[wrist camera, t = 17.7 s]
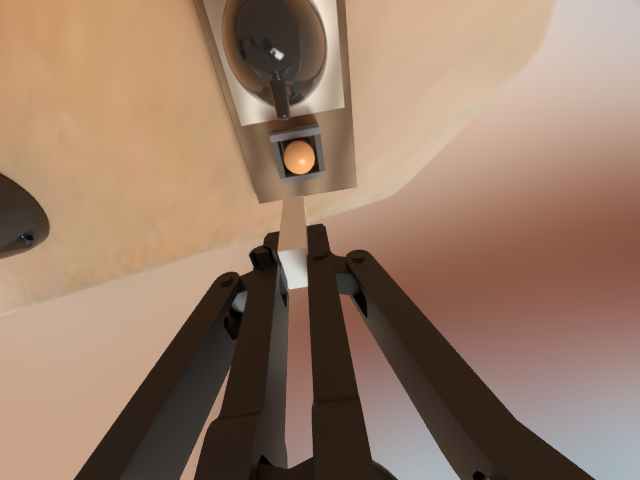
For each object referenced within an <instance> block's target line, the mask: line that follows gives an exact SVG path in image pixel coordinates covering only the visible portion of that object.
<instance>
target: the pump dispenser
mask: <svg viewBox="0 0 640 480" xmlns="http://www.w3.org/2000/svg"><path fill="white" fill-rule="evenodd" d="M221 33H222V43H223V48H224V52H225V56H226V59H227V62H228V64H229V67H230V69H231V71H232V73H233V75H234V76H235V78H236V79H237V81H238V82H239V84H240V85H241V86H242V87H243V88H244V90H245V91H246V92H247V93H249V94H250V95H251V96H252V97H253V98H255V99H256V100H258V101H260V102H261V103H263V104H266V105H268V106H272V107H275V111H276V115H277V118H278V119H279V120H287V119H289V118H290V108H289V107H292V106H295V105H298V104H300V103H302V102H303V101H305V100H306V99H307V98H309V97H310V96H311V95H312V94H313V92H314V91H315V90H316V89H317V87H318V85H319V84H320V82H321V80H322V77H323V75H324V72H325V68H326V64H327V56H328V42H327V35H326V30H325V26H324V22H323V19H322V17H321V14H320V12H319V10H318V8H317V6H316V4H315V2H314V0H226V3H225V6H224V10H223V15H222V24H221Z"/></svg>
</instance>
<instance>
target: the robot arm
mask: <svg viewBox="0 0 640 480" xmlns="http://www.w3.org/2000/svg"><path fill="white" fill-rule="evenodd" d="M48 234H49V222H48V219H47V217H46V215H45V213H44V211H43V210H42V208H41V207H40V205H39V204H38V203H37V202H36V201H35V200H34V199H33V198H32V197H31V196H30V195H29V194H28V193H27V192H26V191H25V190H23V189H22V188H21V187H19V186H18V185H17V184H15V183H14V182H12V181H11V180H9V179H7V178H5V177H4V176H2V175H0V259H3V258H7V257H10V256H14V255H17V254H21V253H24V252H26V251H29V250H31V249H32V248H34V247H36V246H37V245H39V244H40V243H42V242H43V241H44V240H45V239H46V238H47V236H48ZM249 257H250V259H251V261H252V264H253V266H254V268H253V271H251V272H249V273H247V274H244V275H242V276H239V275H238V273H236V272H227V273H225V274H222V275H221V276H219V277H218V278H217V279H216V280H215V281H214V283H213V284H212V285H211V287H210V288H209V290H208V291H207V293H206V294H205V295H204V297H203V298H202V300H201V301H200V303H199V304H198V305H197V306H196V308H195V309H194V311H193V312H192V314H191V315H190V316H189V318H188V319H187V321H186V322H185V323H184V325H183V326H182V328H181V329H180V331H179V332H178V333H177V335H176V336H175V338H174V339H173V341H172V342H171V343H170V345H169V346H168V347H167V349H166V350H165V352H164V353H163V354H162V356H161V357H160V359H159V360H158V361H157V363H156V364H155V366H154V367H153V369H152V370H151V371H150V373H149V374H148V376H147V377H146V379H145V380H144V381H143V383H142V384H141V386H140V387H139V388H138V390H137V391H136V393H135V394H134V395H133V397H132V398H131V400H130V401H129V402H128V404H127V405H126V407H125V408H124V409H123V411H122V412H121V414H120V415H119V417H118V418H117V420H116V421H115V422H114V424H113V425H112V427H111V428H110V429H109V431H108V432H107V434H106V435H105V436H104V438H103V439H102V441H101V442H100V443H99V445H98V446H97V448H96V449H95V450H94V452H93V453H92V455H91V456H90V457H89V459H88V460H87V462H86V463H85V464H84V466H83V467H82V469H81V470H80V472H79V473H78V474H77V476H76V477H75V479H74V480H179V479H180V477H181V475H182V473H183V471H184V468H185V466H186V464H187V462H188V459H189V457H190V455H191V453H192V450H193V448H194V446H195V444H196V442H197V439H198V437H199V435H200V433H201V431H202V428H203V426H204V424H205V422H206V420H207V417H208V415H209V413H210V410H211V409H212V406H213V404H214V402H215V400H216V397H217V395H218V393H219V391H220V388H221V386H222V384H223V382H224V380H225V377H226V375H227V373H228V371H229V369H230V373H229V378H228V382H227V386H226V391H225V395H224V400H223V404H222V408H221V411H220V414H219V416H218V418H217V419H215V420H214V421H213V422H211V424H210V425H209V427H208V429H207V432H206V435H205V438H204V442H203V446H202V449H201V454H200V457H199V461H198V465H197V469H196V473H195V477H194V480H397V478H396V477H395V476H393V475H392V474H391V473H390V472H389V471H388V470H387V469H386V468H384V467H383V466H382V465H380V464H379V463H377V462H375V461H373V460H372V457H371V452H370V447H369V442H368V437H367V432H366V427H365V422H364V417H363V412H362V407H361V402H360V398H359V394H358V389H357V384H356V379H355V374H354V369H353V364H352V358H351V353H350V348H349V343H348V338H347V333H346V328H345V323H344V317H343V312H342V307H341V302H340V297H339V294H345V295H350V298H351V299H352V301H353V303H354V305H355V306H356V308H357V310H358V311H359V313H360V315H361V316H362V318H363V320H364V321H365V323H366V325H367V326H368V328H369V330H370V332H371V333H372V335H373V337H374V338H375V340H376V342H377V343H378V345H379V347H380V348H381V350H382V351H383V353H384V355H385V357H386V358H387V360H388V362H389V364H390V365H391V367H392V368H393V370H394V372H395V374H396V375H397V377H398V379H399V380H400V382H401V384H402V385H403V387H404V389H405V390H406V392H407V394H408V396H409V397H410V399H411V400H412V402H413V404H414V406H415V407H416V409H417V411H418V412H419V414H420V416H421V417H422V419H423V421H424V422H425V424H426V426H427V428H428V429H429V431H430V433H431V434H432V436H433V438H434V439H435V441H436V443H437V444H438V446H439V448H440V450H441V451H442V453H443V454H444V455H445V457H446V459H447V460H448V462H449V463H450V465H451V466H452V468H453V469H454V471H455V472H456V474H457V475H458V476H459V478H460V479H461V480H595V479H594V478H592V477H591V476H590V475H589V474H587V473H586V472H585V471H583V470H582V469H581V468H579V467H578V466H577V465H576V464H574V463H573V462H572V461H570V460H569V459H568V458H566V457H565V456H564V455H562V454H561V453H560V452H558V451H557V450H556V449H554V448H553V447H552V446H550V445H549V444H548V443H546V442H545V441H544V440H542V439H541V438H540V437H538V436H537V435H536V434H535V433H533V432H532V431H531V430H529V429H528V428H527V427H525V426H524V425H522V424H521V423H520V422H519V421H517V420H516V419H515V417H514V416H513V415H512V414H511V413H510V412H509V411H508V409H507V408H506V407H505V406H504V405H503V404H502V403H501V402H500V400H499V399H498V398H497V397H496V396H495V395H494V394H493V392H492V391H491V390H490V389H489V388H488V387H487V386H486V384H484V382H483V381H482V380H481V379H480V378H479V377H478V375H476V373H475V372H474V371H473V370H472V369H471V367H470V366H469V365H468V364H467V363H466V362H465V361H464V359H462V357H461V356H460V355H459V354H458V353H457V352H456V350H455V349H454V348H453V347H452V346H451V345H450V344H449V342H448V341H447V340H446V339H445V338H444V337H443V336H442V334H441V333H440V332H439V331H438V330H437V329H436V328H435V327H434V325H433V324H432V323H431V322H430V321H429V320H428V319H427V317H426V316H425V315H424V314H423V313H422V312H421V311H420V310H419V308H418V307H417V306H416V305H415V304H414V303H413V302H412V300H411V299H410V298H409V297H408V296H407V295H406V294H405V293H404V291H403V290H402V289H401V288H400V287H399V286H398V285H397V283H396V282H395V281H394V280H393V279H392V278H391V277H390V275H389V274H388V273H387V272H386V271H385V270H384V269H383V268H382V266H381V265H380V264H379V263H378V262H377V261H376V260H375V259H374V257H373V256H372V255H371V254H370V253H369V252H367V251H365V250H354V251H351V252H349V253H348V254H347V255H346V257H341V256H336V255H334V254H333V253H332V252H331V251H330V247H329V242H328V237H327V232H326V227H325V226H324V225H323V224H317V225H309V220H308V215H307V211H306V206H305V201H304V196H303V195H302V196H296V197H291V198H285V199H283V207H282V216H281V225H280V231H278V232H272V233H268V234H267V236H266V237H265V238H264V244H263V245H262V246H259V247H257V248H255V249H253V250H252V251H251V252H250V254H249ZM287 284H288V287H289V289H294V288H300V287H306V286H308V296H309V316H310V336H311V353H312V354H311V355H312V375H313V396H314V400H313V405H312V437H313V457H312V458H310V459H308V460H306V461H304V462H302V463H300V464H298V465H296V466H294V467H292V468H290V469H287V451H286V445H285V408H286V406H285V405H286V377H287V345H288V344H287V343H288V312H289V294H288V291H287ZM230 366H231V368H230Z"/></svg>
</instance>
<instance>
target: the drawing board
mask: <svg viewBox="0 0 640 480" xmlns="http://www.w3.org/2000/svg"><path fill="white" fill-rule="evenodd" d="M193 1H194V4H195V7H196V10H197V13H198V16H199V19H200V22H201V25H202V28H203V31H204V34H205V38H206V41H207V44H208V47H209V50H210V53H211V56H212V59H213V62H214V65H215V68H216V71H217V75H218V78H219V81H220V84H221V87H222V90H223V93H224V96H225V99H226V102H227V105H228V108H229V112H230V115H231V118H232V121H233V124H234V127H235V130H236V133H237V136H238V139H239V142H240V145H241V149H242V152H243V155H244V158H245V161H246V164H247V167H248V170H249V173H250V176H251V179H252V182H253V186H254V189H255V192H256V195H257V198H258V201H259V204H261V203H267V202H272V201H278V200H283V199H285V198H291V197H296V196H302V195H303V196H308V195H314V194H319V193H325V192H331V191H337V190H343V189H349V188H355V187H357V182H356V166H355V151H354V135H353V119H352V103H351V88H350V72H349V56H348V40H347V24H346V9H345V0H314V2H315V4H316V6H317V8H318V10H319V12H320V14H321V17H322V19H323V22H324V26H325V30H326V35H327V42H328V56H327V64H326V68H325V72H324V75H323V77H322V80H321V82H320V84H319V85H318V87H317V89H316V90H315V91H314V92H313V94H312V95H311V96H310V97H309V98H307V99H306V100H305V101H303V102H302V103H300V104H298V105H295V106H292V107H289V108H290V118H289V119H287V120H279V119H278V118H277V115H276V111H275V107H272V106H268V105H266V104H263V103H261V102H260V101H258V100H256V99H255V98H253V97H252V96H251V95H250V94H249V93H247V92H246V91H245V90H244V88H243V87H242V86H241V85H240V84H239V82H238V81H237V79H236V78H235V76H234V75H233V73H232V71H231V69H230V67H229V64H228V62H227V59H226V56H225V52H224V48H223V43H222V33H221V24H222V15H223V10H224V6H225V3H226V0H193ZM295 138H303V139H305V140H307V141H308V142H309V143H310V144H311V145H312V148H313V151H314V156H315V161H314V165H313V167H312V168H311V170H310V171H308V172H307V173H304V174H295V173H293V172H291V171H290V170H289V169H288V168H287V167H286V165H285V162H284V153H285V149H286V146H287V144H288V143H289V142H290V141H291V140H293V139H295Z"/></svg>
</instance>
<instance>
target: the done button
mask: <svg viewBox="0 0 640 480" xmlns="http://www.w3.org/2000/svg"><path fill="white" fill-rule="evenodd" d="M314 161H315V156H314V151H313V148H312V145H311V144H310V143H309V142H308V141H307V140H305V139H303V138H295V139H293V140H291V141H290V142H289V143H288V144H287V146H286V149H285V153H284V162H285V165H286V167H287V168H288V169H289V170H290V171H291V172H293V173H295V174H304V173H307V172H308V171H310V170H311V168H312V167H313V165H314Z"/></svg>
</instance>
